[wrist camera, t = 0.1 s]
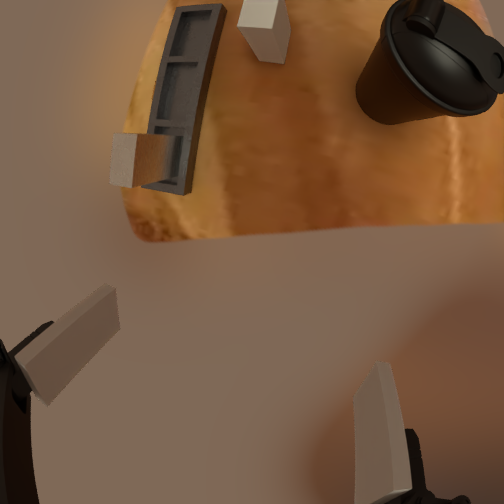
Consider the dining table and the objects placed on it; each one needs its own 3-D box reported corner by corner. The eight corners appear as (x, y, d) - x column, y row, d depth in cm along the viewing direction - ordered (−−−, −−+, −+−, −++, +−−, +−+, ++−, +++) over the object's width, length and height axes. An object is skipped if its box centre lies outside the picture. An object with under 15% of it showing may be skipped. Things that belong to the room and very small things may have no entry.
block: (266, 27, 28) (248, -15, 17) (291, 30, 28) (281, -13, 17) (259, 60, 30) (236, 26, 19) (284, 64, 30) (272, 28, 19)
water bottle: (401, 145, 30) (506, 145, 9) (337, 105, 31) (374, 38, 10) (427, 90, 26) (528, 47, 5) (365, 50, 27) (415, -43, 6)
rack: (182, 13, 29) (140, -20, 17) (227, 10, 28) (195, -31, 16) (148, 184, 40) (95, 200, 29) (191, 192, 39) (144, 211, 28)
